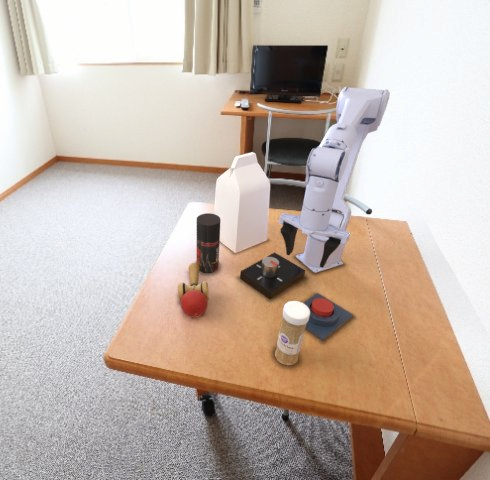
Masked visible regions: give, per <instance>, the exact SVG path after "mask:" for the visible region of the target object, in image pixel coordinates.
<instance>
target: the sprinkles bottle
mask: <svg viewBox="0 0 490 480" xmlns="http://www.w3.org/2000/svg"><path fill="white" fill-rule="evenodd" d="M309 316H310V310H309V308H308V307H307V306H306V305H305V304H304V302H301V301H298V300H289V301H288V302H286V303H285V304H284V306H283V309H282V319H281V324H280V328H279V331H278V336H277V340H276V341H277V343H276V349H275V350H274V356H275V359H276V360H277V362H279V363H280V364H282V365H283V366H293V365H295V364H297V363H298V361H299V355H300V351H301V348H302V344H303V341H304V337H305V332H306V329H305V328H306V324H307V322H308V320H309Z"/></svg>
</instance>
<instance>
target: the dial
mask: <svg viewBox="0 0 490 480" xmlns="http://www.w3.org/2000/svg"><path fill="white" fill-rule="evenodd" d="M263 258H264V259H263ZM263 258H262V259H263V260H262V259H261V260H262V267H261V274H262V275H263V276H265V277H267V278H274V277H276V276H277V272H278V266H279V261H278V260H277V259H276V258H274V257H267V256H265V257H263Z"/></svg>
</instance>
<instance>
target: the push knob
mask: <svg viewBox="0 0 490 480" xmlns="http://www.w3.org/2000/svg"><path fill="white" fill-rule="evenodd" d="M328 300H329V299H328ZM328 300H326V299H323V298H317V299H314V300H313V302H312V306H311V310H312V312H313V313H314V314H316V315H317V316H321V317H329V316H331V314H332V312H333V309H334V306H333V304H332V303H331V302H332V301H331V300H330V301H331V302H330V301H328Z"/></svg>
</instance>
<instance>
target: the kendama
mask: <svg viewBox="0 0 490 480" xmlns="http://www.w3.org/2000/svg"><path fill="white" fill-rule="evenodd" d="M199 270H200V267H199V265H198V264H197V262H192V263H190V264H189V265H188V275H189V284H190V285H188V284H186V283H185V282H183V281H182V282H178V284H177V296H178V300H179V303H180V307H181V310H182V312H183V313H184V314H185V315H186V316H188V317H191V318H197V317H200V316H202V315H203V314H204V313H205V312H206V311H207V308H208V300H209V299H210V295H209V293H210V292H209V285H208V281H206V280H205V281H204V280H203V281H202V282H201V283H199V278H200V271H199Z"/></svg>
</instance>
